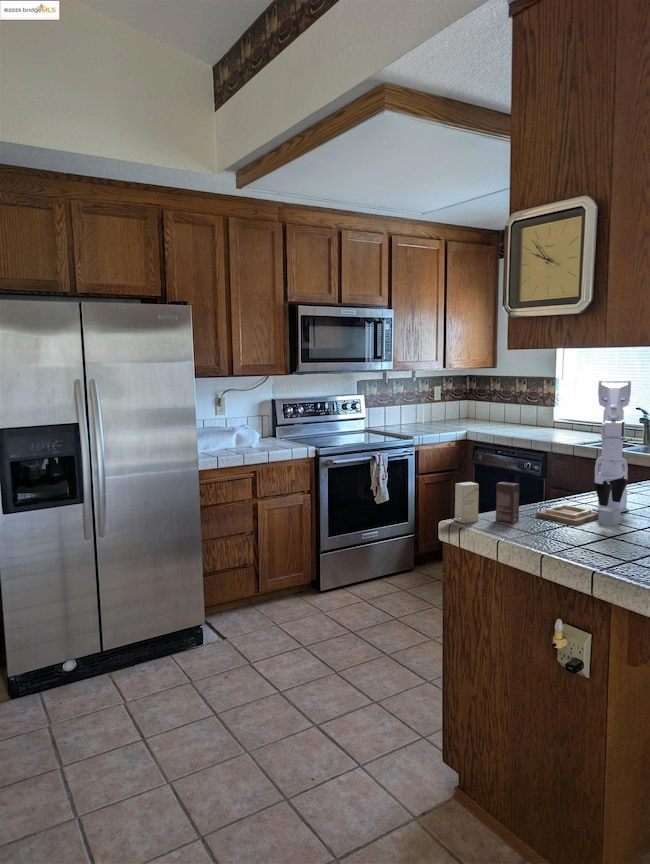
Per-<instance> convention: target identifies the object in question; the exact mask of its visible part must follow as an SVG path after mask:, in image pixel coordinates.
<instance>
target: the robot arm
mask: <svg viewBox="0 0 650 864" xmlns="http://www.w3.org/2000/svg"><path fill="white" fill-rule="evenodd" d="M597 388H598V389H597V390H598V391H597V392H598V393H597V394H598V395H597V396H598V405H599V406H602V407H603V408H604V410H603V414H602V415H603V418H602V420H603V421H602V422H601V427H600V437H601V456H599V457H597V459H596V460H595V466H594V481H592V487H593V489H594V490H595V493H596V495H597V506H596V507H592V509H591V511H596V512H599V509H602V508H605V507H609V508H614V509H619V510H621V513H623V512H627V511H629V510H630V508H628V507H627V505H628V504H627V503H628V490H627V485H628V484H629V483H630V479H628V469H629V467H628V462H627V459H625V458H624V457H623V448H624V440H625V437H626V421H625V418H624V416H625V413H624V412H625V411H624V408H625V407H628V406H629V403H630V401H631V399H630V398H631V393H632V380H631V379H630V378H627V379H618V378H617V379H614V378H613V379H611V378H607V379H602V378H600V379H599V380H598V387H597Z"/></svg>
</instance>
